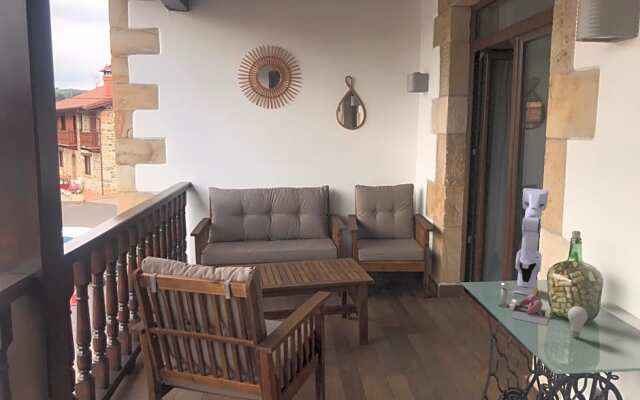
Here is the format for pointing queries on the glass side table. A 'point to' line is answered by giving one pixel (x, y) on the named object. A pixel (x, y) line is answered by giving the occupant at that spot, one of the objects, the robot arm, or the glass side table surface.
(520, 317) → the mat
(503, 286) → the orange and grey bar
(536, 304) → the video game controller
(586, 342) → the glass side table surface
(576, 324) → the lightbulb
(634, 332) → the glass side table surface
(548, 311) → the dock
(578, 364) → the glass side table surface
